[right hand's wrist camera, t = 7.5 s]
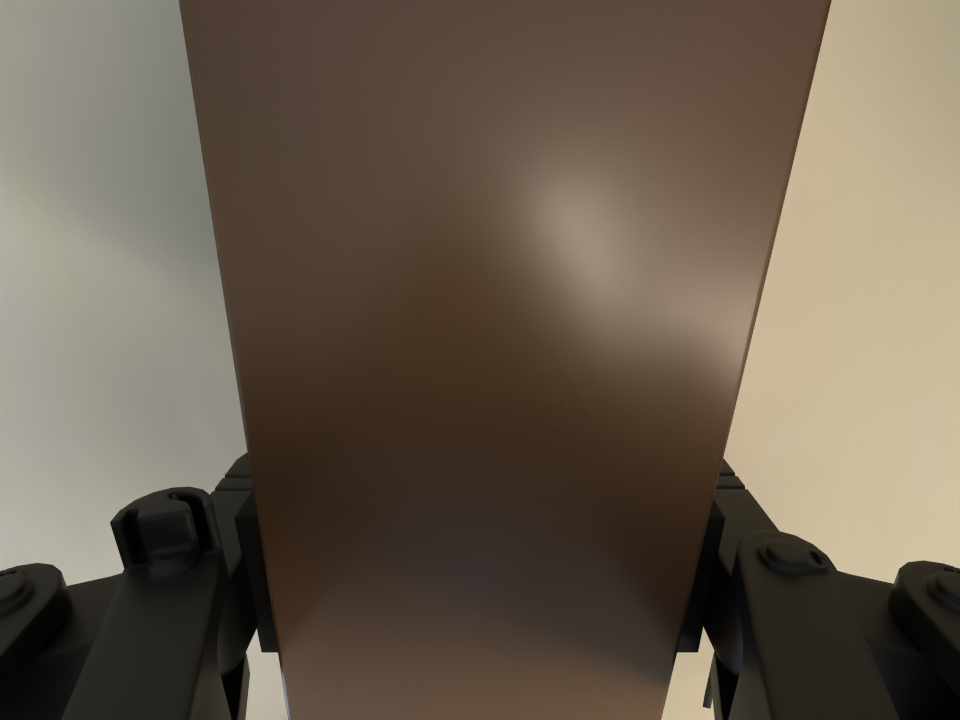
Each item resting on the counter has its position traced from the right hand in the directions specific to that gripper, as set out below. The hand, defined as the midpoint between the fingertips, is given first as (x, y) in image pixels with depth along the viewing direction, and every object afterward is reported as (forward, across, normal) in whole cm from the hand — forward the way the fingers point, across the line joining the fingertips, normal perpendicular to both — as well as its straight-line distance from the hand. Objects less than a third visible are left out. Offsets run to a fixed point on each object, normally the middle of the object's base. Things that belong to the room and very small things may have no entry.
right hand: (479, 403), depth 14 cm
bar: (0, -1, -20) cm, 20 cm away
